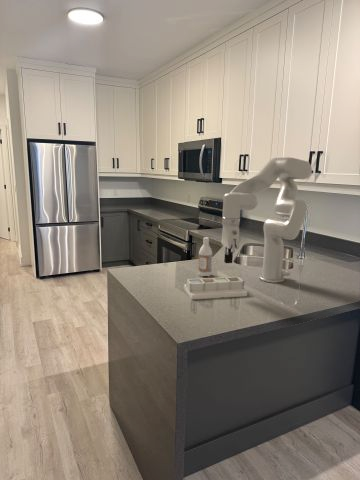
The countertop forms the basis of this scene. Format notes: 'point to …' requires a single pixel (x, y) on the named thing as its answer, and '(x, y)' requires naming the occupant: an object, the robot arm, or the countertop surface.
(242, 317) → the countertop surface
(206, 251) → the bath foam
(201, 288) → the white compartment tray
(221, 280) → the key
